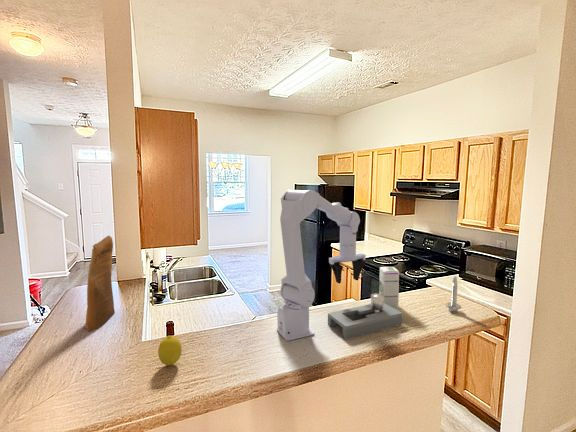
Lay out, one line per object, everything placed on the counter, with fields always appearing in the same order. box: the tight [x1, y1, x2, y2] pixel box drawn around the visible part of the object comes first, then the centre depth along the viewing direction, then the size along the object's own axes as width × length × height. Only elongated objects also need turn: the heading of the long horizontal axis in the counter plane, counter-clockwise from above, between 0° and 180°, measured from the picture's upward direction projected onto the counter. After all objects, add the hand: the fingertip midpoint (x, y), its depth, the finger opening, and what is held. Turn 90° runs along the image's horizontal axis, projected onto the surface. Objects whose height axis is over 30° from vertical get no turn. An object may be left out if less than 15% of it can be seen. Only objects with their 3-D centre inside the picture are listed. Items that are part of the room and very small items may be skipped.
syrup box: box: [378, 266, 400, 311], centre depth 112 cm, size 6×6×14 cm
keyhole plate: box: [327, 303, 404, 340], centre depth 99 cm, size 22×10×4 cm, turn 114°
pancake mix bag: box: [85, 235, 115, 332], centre depth 102 cm, size 7×19×28 cm, turn 8°
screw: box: [445, 276, 462, 314], centre depth 108 cm, size 13×5×5 cm
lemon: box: [157, 335, 183, 366], centre depth 77 cm, size 6×6×8 cm
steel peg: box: [370, 292, 384, 313], centre depth 101 cm, size 4×4×9 cm
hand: (347, 281), depth 110 cm, fingers open, 7 cm apart
